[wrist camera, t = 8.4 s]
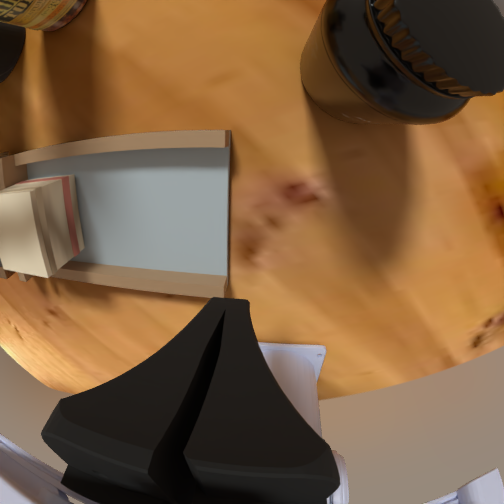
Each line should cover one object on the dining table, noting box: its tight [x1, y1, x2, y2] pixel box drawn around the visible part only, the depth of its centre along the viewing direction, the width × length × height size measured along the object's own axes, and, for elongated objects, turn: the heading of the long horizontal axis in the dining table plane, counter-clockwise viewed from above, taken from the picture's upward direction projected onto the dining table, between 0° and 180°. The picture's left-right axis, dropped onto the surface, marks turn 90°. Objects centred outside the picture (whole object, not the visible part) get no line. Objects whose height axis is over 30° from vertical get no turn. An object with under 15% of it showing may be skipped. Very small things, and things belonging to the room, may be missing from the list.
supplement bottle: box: [300, 0, 504, 125], centre depth 9 cm, size 7×7×12 cm
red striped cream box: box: [0, 174, 85, 278], centre depth 17 cm, size 6×6×5 cm
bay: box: [0, 130, 231, 298], centre depth 18 cm, size 11×19×4 cm, turn 88°
